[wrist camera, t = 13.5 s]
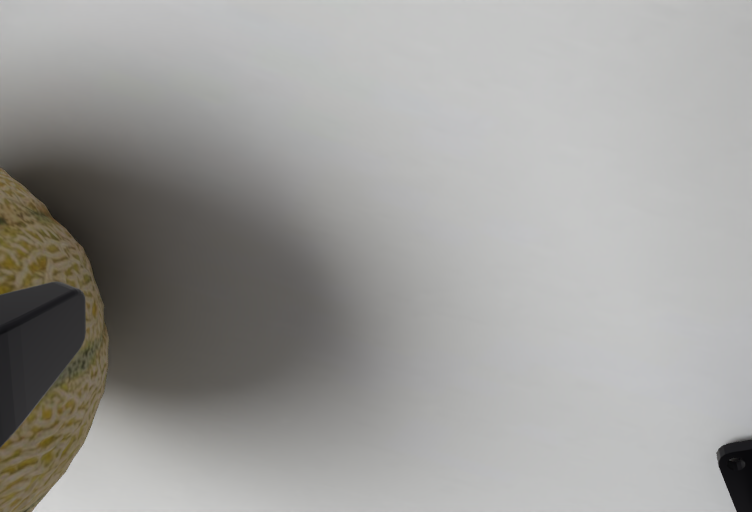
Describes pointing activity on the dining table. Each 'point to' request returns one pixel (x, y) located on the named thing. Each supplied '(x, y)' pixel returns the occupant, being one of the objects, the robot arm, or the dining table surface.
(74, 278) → the cantaloupe
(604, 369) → the dining table surface
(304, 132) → the dining table surface
